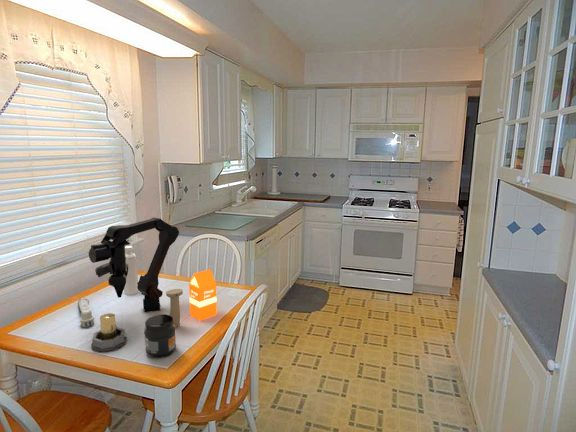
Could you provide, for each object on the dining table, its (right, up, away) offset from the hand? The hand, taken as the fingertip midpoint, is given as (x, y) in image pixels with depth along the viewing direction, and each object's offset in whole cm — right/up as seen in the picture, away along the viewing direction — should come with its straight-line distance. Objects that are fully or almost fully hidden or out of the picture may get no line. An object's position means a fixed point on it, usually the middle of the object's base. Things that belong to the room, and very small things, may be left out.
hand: (120, 293), depth 156 cm
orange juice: (+33, -12, +9) cm, 36 cm away
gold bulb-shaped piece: (+3, -15, -16) cm, 22 cm away
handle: (+24, -13, -2) cm, 27 cm away
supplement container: (+24, -17, -21) cm, 36 cm away
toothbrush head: (-18, -11, +6) cm, 22 cm away
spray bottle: (-9, -6, +32) cm, 33 cm away
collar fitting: (+3, -15, -16) cm, 23 cm away
